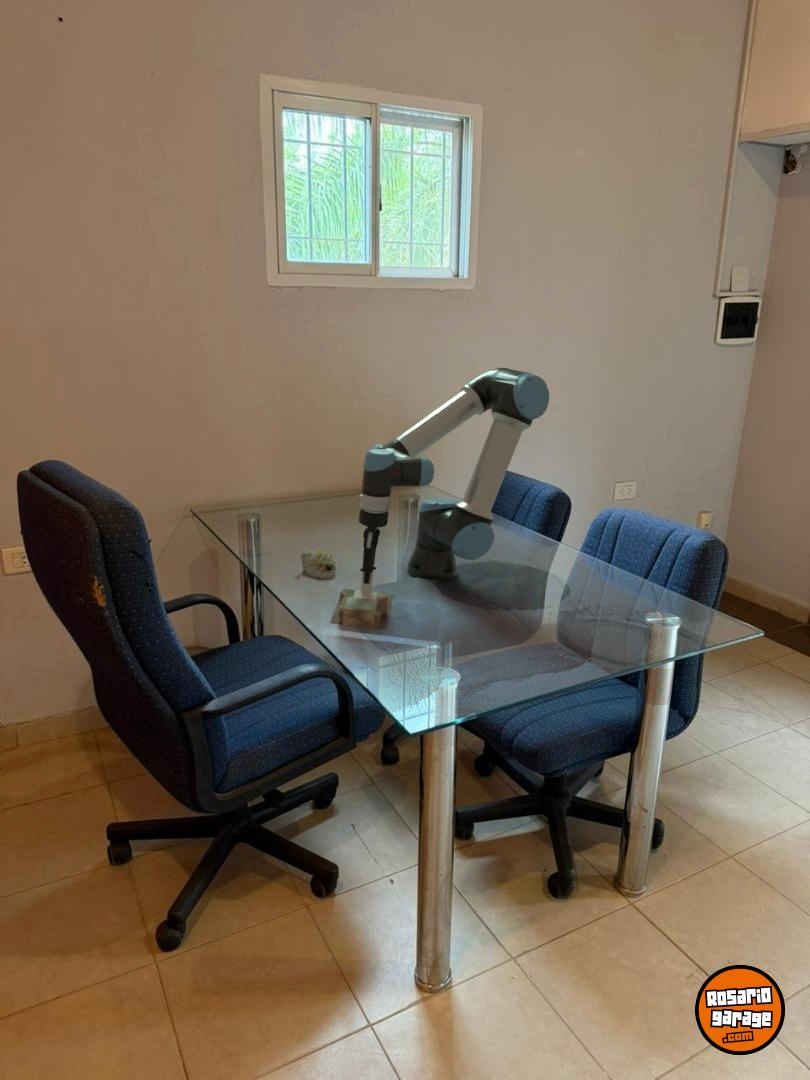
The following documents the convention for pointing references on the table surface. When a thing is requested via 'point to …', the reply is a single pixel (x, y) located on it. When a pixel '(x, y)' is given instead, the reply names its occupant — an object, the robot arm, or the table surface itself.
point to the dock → (362, 610)
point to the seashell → (318, 564)
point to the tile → (365, 595)
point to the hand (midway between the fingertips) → (365, 593)
